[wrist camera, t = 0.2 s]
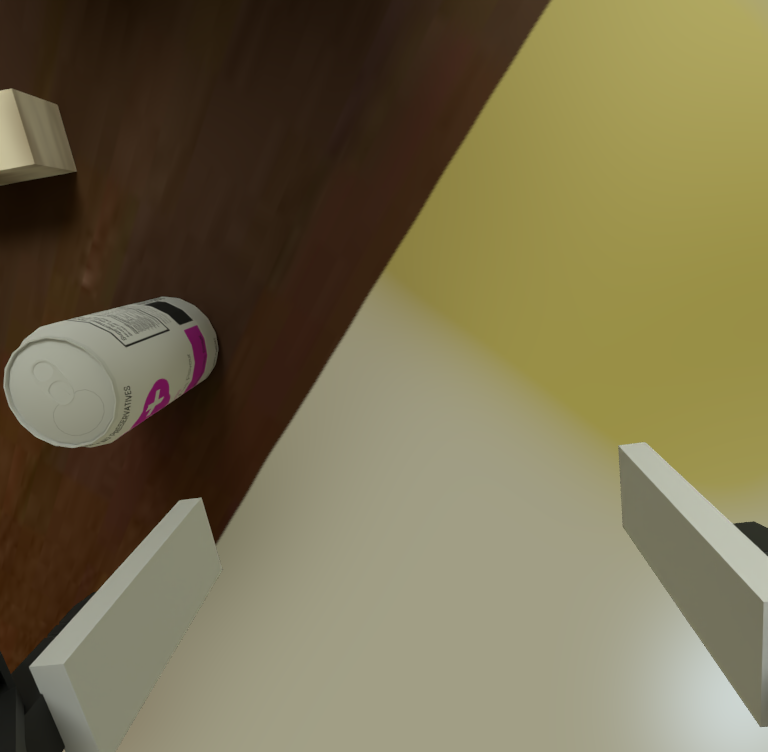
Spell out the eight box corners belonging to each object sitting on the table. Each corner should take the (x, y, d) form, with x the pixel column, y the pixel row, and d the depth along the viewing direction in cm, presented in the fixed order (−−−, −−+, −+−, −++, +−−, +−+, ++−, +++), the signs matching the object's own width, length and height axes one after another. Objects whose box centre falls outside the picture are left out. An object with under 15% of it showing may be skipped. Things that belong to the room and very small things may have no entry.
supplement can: (240, 354, 45) (153, 412, 30) (171, 403, 46) (58, 479, 32) (181, 277, 43) (61, 299, 29) (112, 330, 45) (-34, 375, 30)
